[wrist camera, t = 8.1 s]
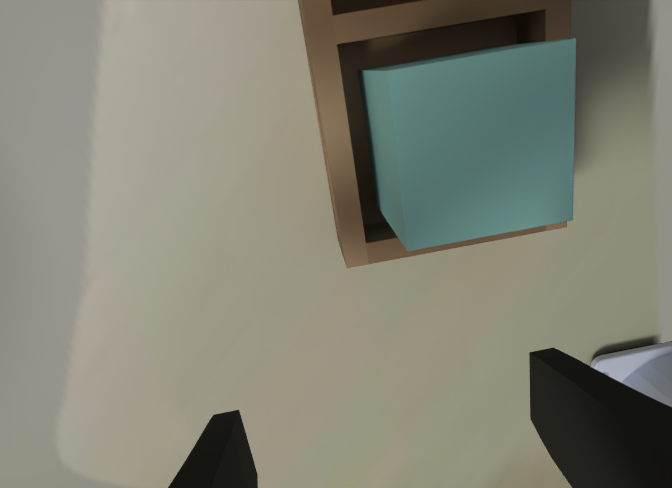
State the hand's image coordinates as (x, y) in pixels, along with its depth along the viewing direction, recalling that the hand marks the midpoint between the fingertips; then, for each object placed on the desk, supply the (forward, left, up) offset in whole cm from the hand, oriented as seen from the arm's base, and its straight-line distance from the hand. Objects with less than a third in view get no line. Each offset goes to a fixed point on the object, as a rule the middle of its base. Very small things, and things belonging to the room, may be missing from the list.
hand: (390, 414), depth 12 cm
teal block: (+5, -4, -8) cm, 11 cm away
